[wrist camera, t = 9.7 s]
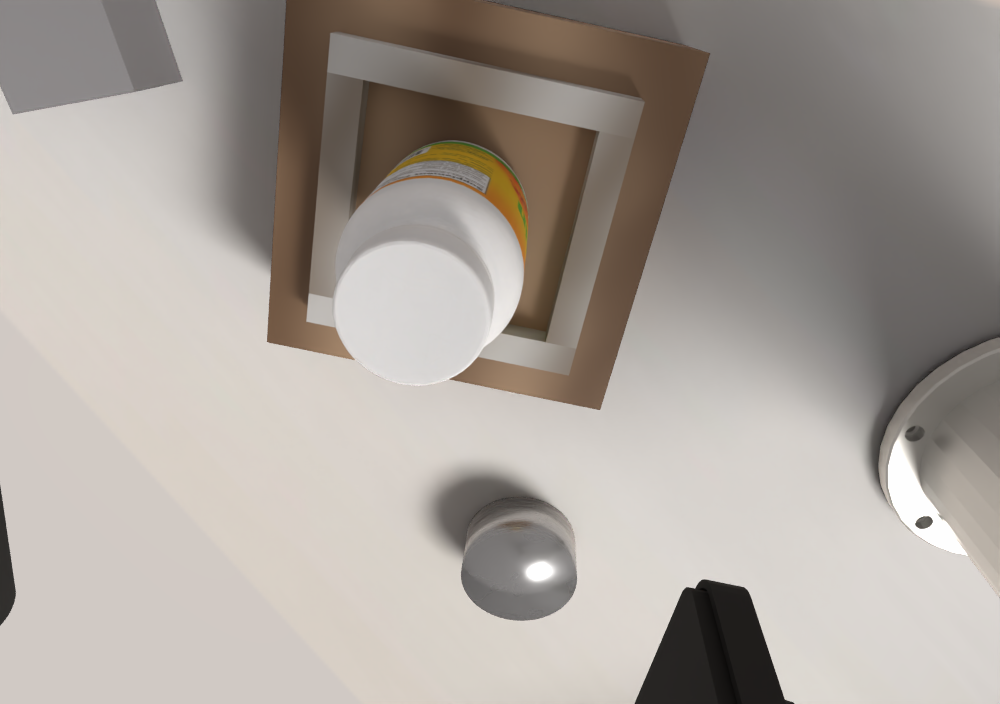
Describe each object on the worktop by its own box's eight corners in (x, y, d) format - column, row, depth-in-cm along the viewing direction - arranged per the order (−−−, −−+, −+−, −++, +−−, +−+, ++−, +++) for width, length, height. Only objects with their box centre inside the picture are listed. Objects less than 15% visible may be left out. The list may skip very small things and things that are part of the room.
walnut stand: (683, 44, 28) (716, 55, 22) (593, 356, 34) (601, 422, 29) (331, -34, 27) (278, -43, 22) (304, 296, 34) (258, 353, 28)
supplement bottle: (516, 292, 28) (501, 426, 19) (378, 268, 27) (299, 392, 19) (541, 151, 25) (538, 231, 16) (391, 125, 25) (307, 191, 16)
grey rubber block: (138, -55, 28) (77, -63, 24) (184, 80, 30) (134, 91, 26) (22, -31, 28) (-54, -35, 25) (75, 100, 30) (12, 114, 27)
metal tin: (586, 507, 38) (589, 545, 36) (561, 588, 41) (561, 629, 38) (477, 486, 38) (471, 522, 35) (458, 568, 41) (452, 608, 38)
